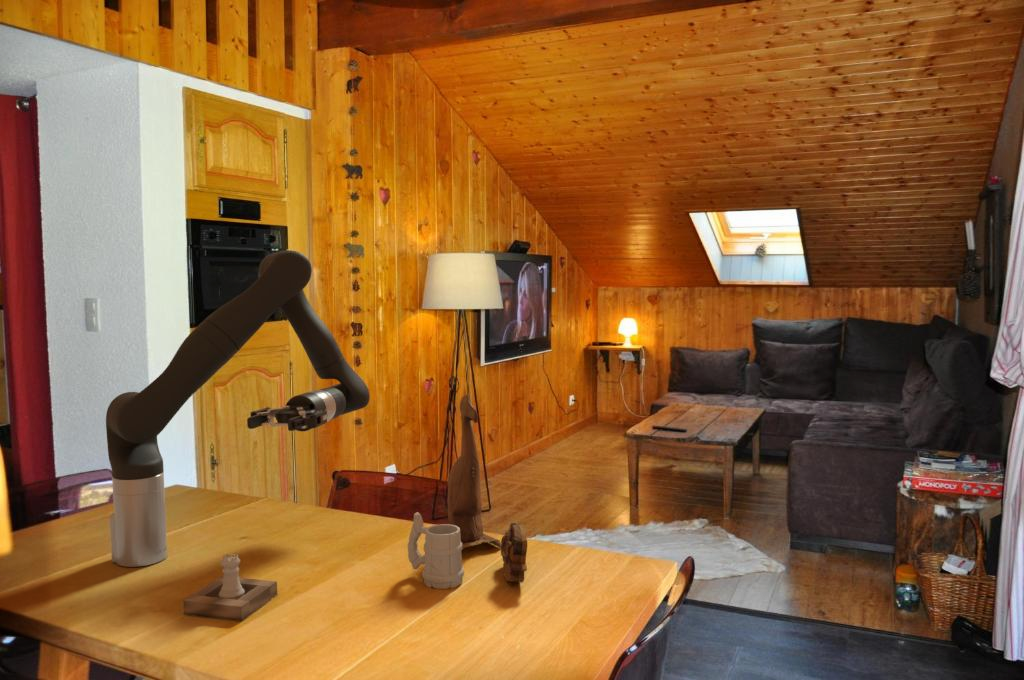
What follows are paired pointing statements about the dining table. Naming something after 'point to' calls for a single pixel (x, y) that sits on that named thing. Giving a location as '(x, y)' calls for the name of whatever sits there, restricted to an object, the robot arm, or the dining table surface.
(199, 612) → the square tray
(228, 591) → the rook chess piece
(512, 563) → the wooden carving
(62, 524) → the dining table surface
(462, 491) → the bird sculpture
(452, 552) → the mug
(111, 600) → the dining table surface
